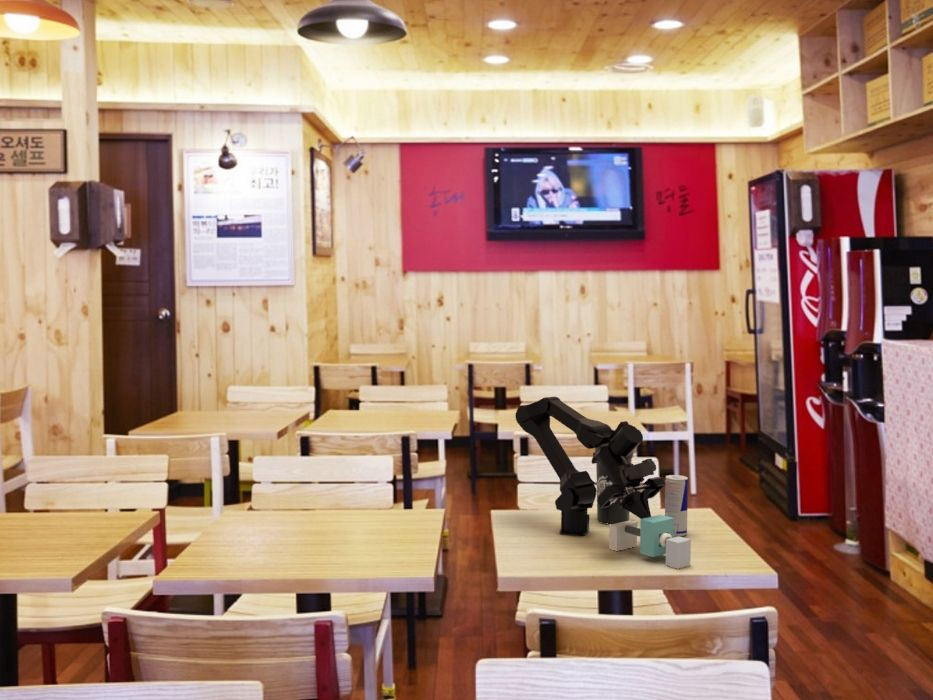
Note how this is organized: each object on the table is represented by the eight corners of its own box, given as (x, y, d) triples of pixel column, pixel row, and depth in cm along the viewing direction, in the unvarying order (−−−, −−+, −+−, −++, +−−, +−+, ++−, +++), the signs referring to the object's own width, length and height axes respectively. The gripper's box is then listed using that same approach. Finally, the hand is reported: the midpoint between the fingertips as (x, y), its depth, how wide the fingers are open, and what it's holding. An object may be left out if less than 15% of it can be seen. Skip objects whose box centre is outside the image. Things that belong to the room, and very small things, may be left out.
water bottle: (587, 522, 242) (588, 437, 240) (604, 514, 250) (605, 432, 249) (622, 527, 236) (623, 441, 235) (638, 519, 245) (639, 436, 243)
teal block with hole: (640, 552, 209) (640, 519, 208) (660, 547, 213) (660, 514, 212) (653, 557, 206) (653, 522, 205) (673, 551, 210) (673, 518, 209)
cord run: (609, 549, 217) (609, 522, 216) (629, 544, 221) (629, 517, 221) (673, 570, 201) (674, 541, 200) (694, 564, 205) (694, 536, 205)
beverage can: (687, 537, 227) (688, 479, 226) (664, 536, 228) (665, 478, 227) (686, 532, 232) (687, 474, 231) (664, 530, 233) (665, 474, 232)
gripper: (606, 452, 208) (641, 508, 200) (660, 444, 219) (695, 497, 211) (582, 479, 215) (615, 535, 207) (636, 470, 226) (669, 523, 218)
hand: (649, 522), depth 211 cm, fingers closed, pressing on teal block with hole
